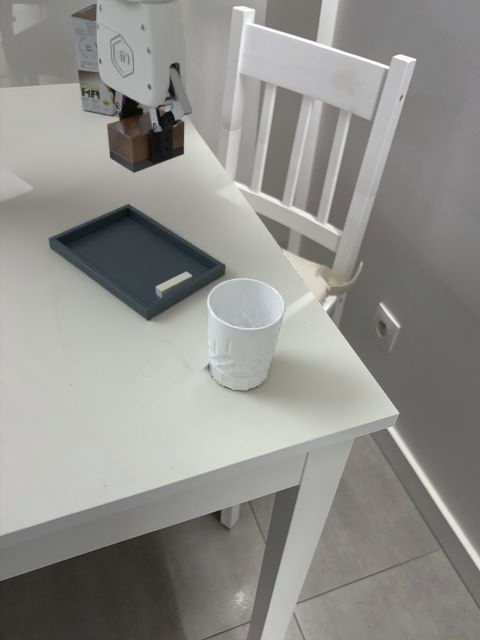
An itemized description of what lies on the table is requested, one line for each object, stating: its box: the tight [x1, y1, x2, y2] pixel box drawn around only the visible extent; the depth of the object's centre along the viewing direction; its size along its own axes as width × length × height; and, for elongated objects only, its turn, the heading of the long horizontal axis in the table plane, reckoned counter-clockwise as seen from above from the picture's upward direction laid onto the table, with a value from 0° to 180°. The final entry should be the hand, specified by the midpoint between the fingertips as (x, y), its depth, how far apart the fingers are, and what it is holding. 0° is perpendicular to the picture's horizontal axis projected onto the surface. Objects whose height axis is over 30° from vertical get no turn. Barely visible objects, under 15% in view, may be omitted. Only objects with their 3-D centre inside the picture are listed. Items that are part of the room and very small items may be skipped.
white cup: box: [206, 277, 286, 391], centre depth 59 cm, size 8×8×10 cm
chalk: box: [156, 271, 192, 298], centre depth 69 cm, size 1×5×1 cm
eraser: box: [106, 108, 185, 174], centre depth 66 cm, size 4×8×4 cm, turn 139°
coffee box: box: [70, 3, 118, 116], centre depth 102 cm, size 9×6×16 cm
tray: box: [48, 203, 226, 321], centre depth 73 cm, size 19×13×2 cm
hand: (146, 149), depth 67 cm, fingers closed on eraser, 4 cm apart
